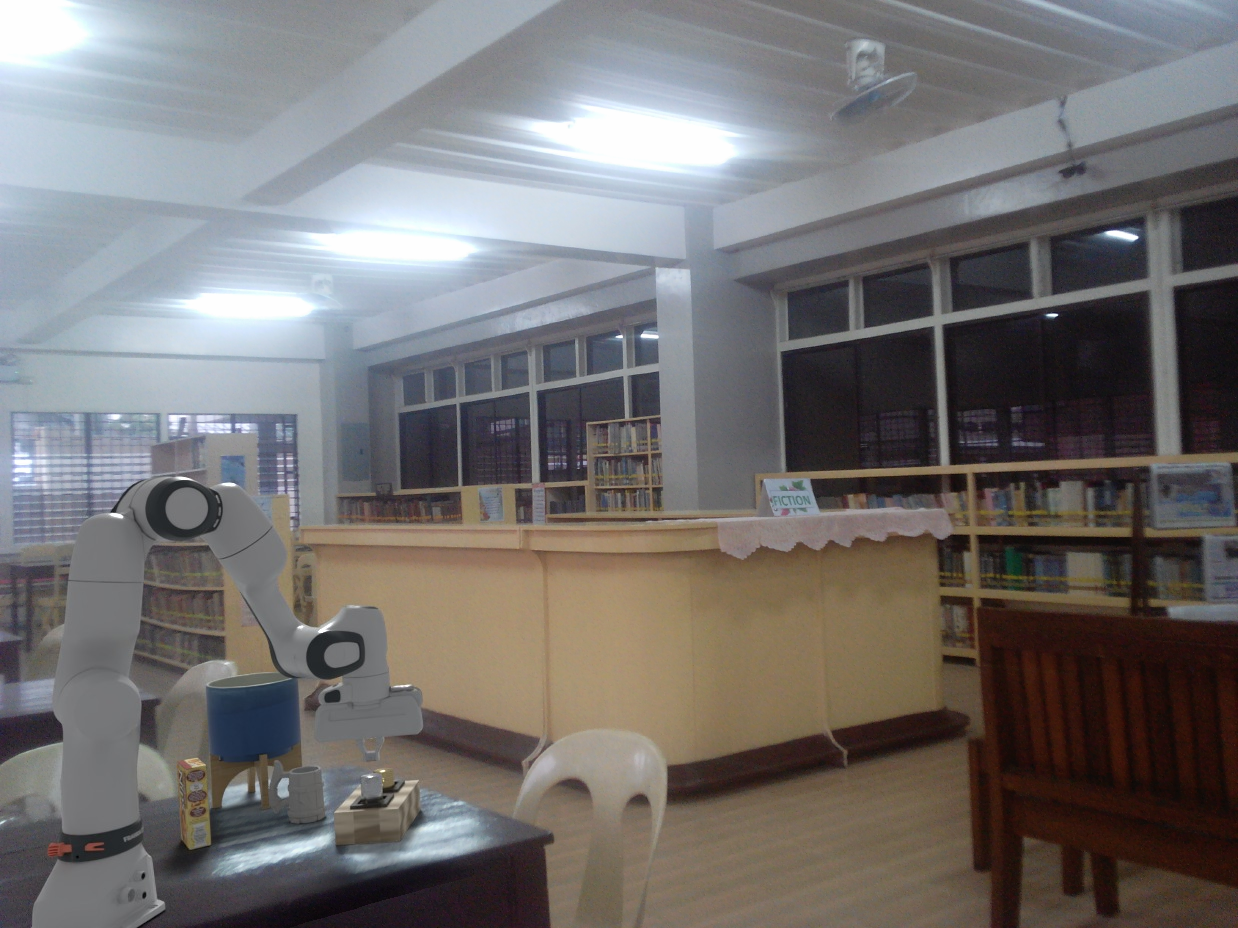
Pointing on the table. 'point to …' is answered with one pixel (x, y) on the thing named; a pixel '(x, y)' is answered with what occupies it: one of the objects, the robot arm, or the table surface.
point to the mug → (299, 793)
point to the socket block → (378, 815)
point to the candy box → (193, 803)
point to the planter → (252, 729)
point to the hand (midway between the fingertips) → (371, 760)
